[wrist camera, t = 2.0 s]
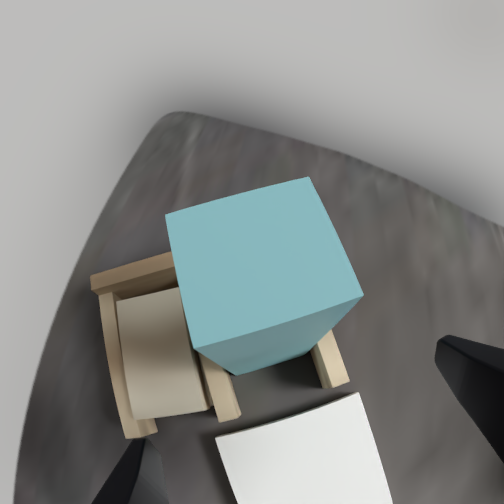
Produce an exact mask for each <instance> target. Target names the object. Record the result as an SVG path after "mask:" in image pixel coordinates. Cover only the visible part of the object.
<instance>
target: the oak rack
mask: <svg viewBox="0 0 504 504" xmlns="http://www.w3.org/2000/svg"><path fill="white" fill-rule="evenodd" d="M90 280H91V291H93V292H94V293H96V294H97V295H99V303H100V312H101V320H102V327H103V334H104V341H105V347H106V353H107V359H108V365H109V370H110V375H111V380H112V385H113V390H114V394H115V399H116V403H117V407H118V411H119V415H120V419H121V423H122V427H123V431H124V434H125V438H126V439H130V438H138V437H143V436H146V435H150V434H153V433H156V432H158V430H157V427H156V423H155V420H154V418H149V419H140V420H134V419H133V414H132V409H131V404H130V399H129V393H128V388H127V382H126V376H125V370H124V363H123V357H122V349H121V342H120V334H119V325H118V315H117V304H116V301H120V300H125V299H129V298H134V297H138V296H143V295H147V294H151V293H156V292H160V291H164V290H169V289H173V288H177V287H179V284H178V280H177V275H176V270H175V265H174V260H173V255H172V251H170V252H167V253H164V254H160V255H157V256H153V257H150V258H147V259H143V260H140V261H137V262H133V263H130V264H127V265H123V266H120V267H117V268H113V269H110V270H107V271H104V272H100V273H97V274H94V275H91V276H90ZM310 353H311V356H312V358H313V361H314V364H315V367H316V370H317V373H318V376H319V379H320V382H321V385H322V388H323V389H324V388H334V387H336V386H339V385H341V384H344V383H346V382H349V378H348V375H347V372H346V369H345V366H344V363H343V361H342V358H341V355H340V352H339V349H338V347H337V344H336V341H335V338H334V336H333V333H332V330H330V331H329V332H328V333H327V334H326V335H325V336H324V337H323V338H322V339H321V340H320V341H319V342H318V343H316V344H315V345H314V346H313V347H312V348H311V349H310ZM199 354H200V357H201V361H202V365H203V368H204V372H205V376H206V379H207V383H208V386H209V390H210V393H211V397H212V400H213V404H214V407H215V410H216V413H217V417H218V420H219V423H220V422H224V421H228V420H232V419H236V418H238V417H239V416H240V415H241V411H240V408H239V405H238V402H237V399H236V395H235V392H234V389H233V385H232V382H231V379H230V375H229V372H228V370H226V369H224V368H223V367H221V366H220V365H218V364H217V363H215V362H213V361H212V360H210V359H209V358H207V357H206V356H204V355H203V354H201V353H200V352H199Z"/></svg>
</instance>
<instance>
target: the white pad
mask: <svg viewBox="0 0 504 504" xmlns="http://www.w3.org/2000/svg"><path fill="white" fill-rule="evenodd" d="M215 440H216V443H217V446H218V449H219V452H220V455H221V458H222V461H223V464H224V467H225V470H226V473H227V476H228V478H229V481H230V484H231V487H232V489H233V492H234V495H235V497H236V500H237V503H238V504H393V502H392V499H391V495H390V492H389V488H388V484H387V481H386V477H385V474H384V471H383V467H382V464H381V461H380V457H379V454H378V451H377V447H376V444H375V441H374V438H373V435H372V431H371V428H370V425H369V422H368V419H367V416H366V413H365V410H364V407H363V404H362V401H361V398H360V395H359V392H356V393H352V394H350V395H347V396H345V397H342V398H340V399H337V400H334V401H332V402H329V403H326V404H324V405H321V406H318V407H316V408H313V409H310V410H307V411H304V412H301V413H298V414H295V415H292V416H289V417H286V418H283V419H279V420H276V421H273V422H269V423H266V424H263V425H259V426H255V427H252V428H248V429H244V430H240V431H236V432H232V433H228V434H224V435H219V436H217V437H216V438H215Z"/></svg>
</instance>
